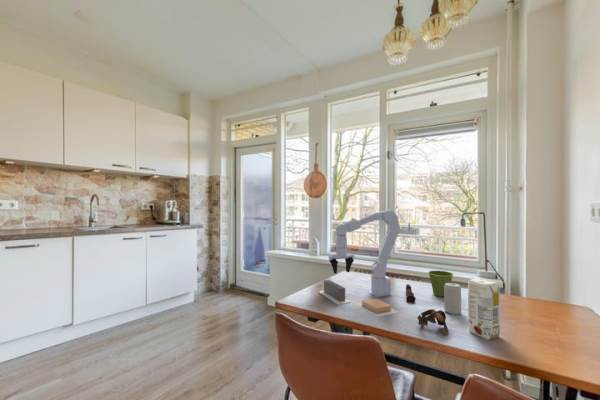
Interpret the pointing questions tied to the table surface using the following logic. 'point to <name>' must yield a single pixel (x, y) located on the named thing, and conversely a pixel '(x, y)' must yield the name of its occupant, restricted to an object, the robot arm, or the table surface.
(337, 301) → the tool rest
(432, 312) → the brown toy animal
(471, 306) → the juice carton
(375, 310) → the tile
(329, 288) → the dark grey block
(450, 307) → the beverage can
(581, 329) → the table surface
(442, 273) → the plant pot
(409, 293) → the hand tool
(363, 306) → the mat
